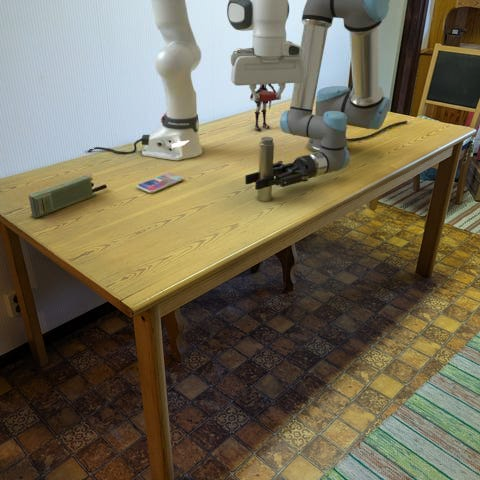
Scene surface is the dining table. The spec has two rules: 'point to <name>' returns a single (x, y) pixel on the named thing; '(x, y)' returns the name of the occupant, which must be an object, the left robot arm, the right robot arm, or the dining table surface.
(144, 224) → the dining table surface
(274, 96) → the lid
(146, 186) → the smartphone
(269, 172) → the olive cylindrical rod
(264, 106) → the figurine
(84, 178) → the handheld radio
